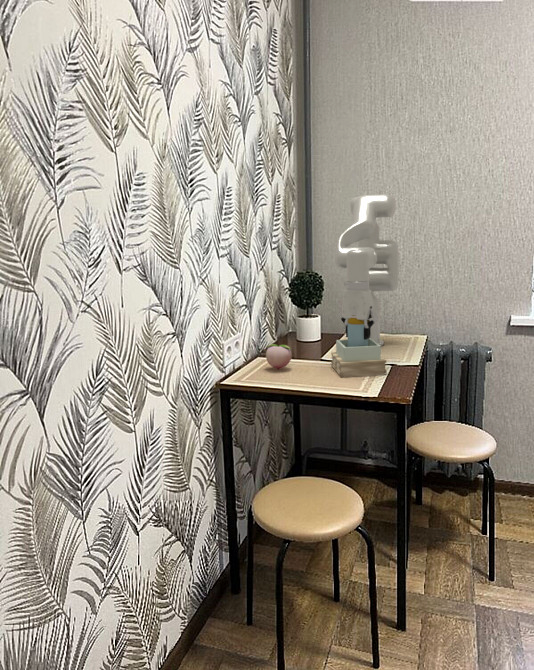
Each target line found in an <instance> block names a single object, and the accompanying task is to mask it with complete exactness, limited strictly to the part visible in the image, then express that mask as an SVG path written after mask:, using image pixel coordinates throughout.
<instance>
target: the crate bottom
mask: <svg viewBox="0 0 534 670" xmlns="http://www.w3.org/2000/svg"><path fill="white" fill-rule="evenodd" d="M330 354H331V356H332V357H331V359H332V361H331V362H330V365H331V367H332V368H333V369H334V370H335V372H336V374H338V375H339V377H340V378H351V377H353V378H354V377H365V376H366V377H369V376H370V377H371V376H383V375H384V376H385V375H386V374H387V369H386V364H387V360H386V359H385V358H384V357H383V356H381V360H367V361H349V362H344V361H343V360H342V359H341V358H340V357H339V356H338V355H337V353H336V351H334V352H333V351H332V352H331V353H330Z"/></svg>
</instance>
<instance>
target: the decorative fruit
mask: <svg viewBox="0 0 534 670" xmlns="http://www.w3.org/2000/svg"><path fill="white" fill-rule="evenodd" d="M265 348H267V350H266V352H265V358H266V362H267V363H268V365H270V366H271V367H273V368H275V369H277V370H280V369H283V368H284V367H286V366H288V365H289V363H290V362H291V360H292V351H291V350H292V348H291V347H290V346H289V345H286V344H279V341H278V342H277V344H275V343H270V344H268V345H267V346H266V347H265Z"/></svg>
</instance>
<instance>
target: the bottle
mask: <svg viewBox="0 0 534 670" xmlns="http://www.w3.org/2000/svg"><path fill="white" fill-rule="evenodd" d="M357 312H358V311H357V309H351V308H350V315H351V316H350V317H351V318H350V319H348V337H347V340H348V347H360V346H368V339H366V340H364V328H365V325H364V320H358V319H357V316H356V315H357ZM367 322H368V321H367Z"/></svg>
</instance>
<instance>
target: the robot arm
mask: <svg viewBox="0 0 534 670" xmlns="http://www.w3.org/2000/svg"><path fill="white" fill-rule="evenodd" d="M349 203H350V204H349V206H350V212H351V214H352V216H351V217H352V218H351V225H350V226H349V227H347V228H346V229H345V230H344V231H343V232H342V233H341V235H340V236H339V237H338V240H337V243H336V249H335V257H334V258H335V259H334V260H335V264H336V266H337V268H340V269H342V270H346V281H345V282H343V285H344V286H345V287H346V289H344V290H343V295H342V303H341V305H342V306H341V310H340V311H339V312H338V313H337V316H338V317H339V319H340V320H341V321H342V323H343V325H344V326H345V337H346V338H348V319H350V318H351V317H350V316H351V315H350V308H351V309H357V311H358V312H357V315H356V316H357V319H358V320H364V325H365V328H364V340H366V339H369V338H371V339H373V340H374V341H375V342H376V343H378V344H379V345H380V346H381V347H382V346H383V345H384V340H382V339H381V303H380V302H381V301H380V298H379V297H378V296H377V295H376V294H375V293H376V292H393V291H394V292H395V291H396V290H397V289H398V287H399V268H400V267H399V266H400V265H399V257H400V256H399V246H398V243H397V242H396V241H395V240H392V239H380V231H381V230H380V226H379V224H378V223H377V222H376V220H377V219H376V218H378V219H380V218H393V216H394V215H395V213H396V210H397V209H396V208H397V207H396V206H397V204H396V198H395V197H394V195H391V194H387V193H380V194H363V195H358V196H355V197H352V198H351V200H350V202H349ZM354 243H357V246H352V247H350V246H351V245H352V244H354ZM376 265H386V267H374V266H376ZM367 321H368V322H367Z"/></svg>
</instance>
